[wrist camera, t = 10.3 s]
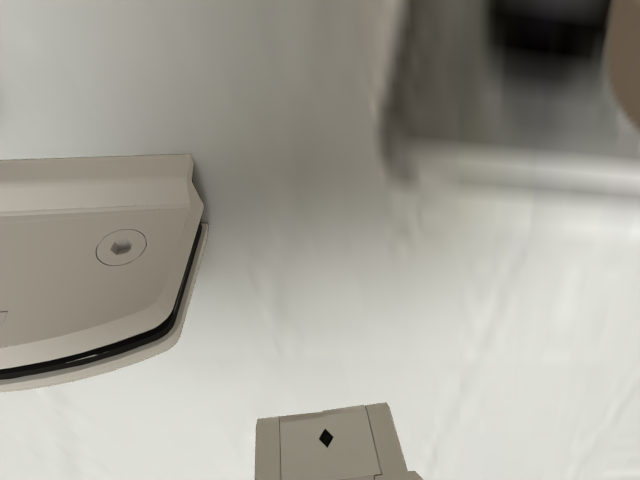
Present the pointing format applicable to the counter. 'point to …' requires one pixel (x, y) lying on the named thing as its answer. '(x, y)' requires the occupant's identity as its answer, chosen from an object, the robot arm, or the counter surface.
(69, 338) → the white curved block
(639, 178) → the counter surface
